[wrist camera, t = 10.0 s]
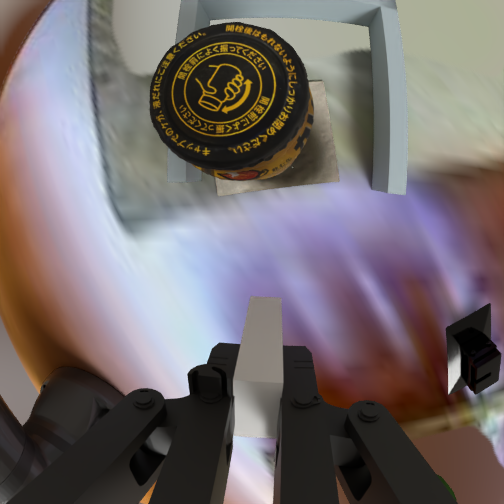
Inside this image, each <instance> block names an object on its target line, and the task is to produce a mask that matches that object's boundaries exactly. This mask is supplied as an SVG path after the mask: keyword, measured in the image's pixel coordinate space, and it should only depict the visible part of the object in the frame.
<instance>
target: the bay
mask: <svg viewBox="0 0 504 504" xmlns="http://www.w3.org/2000/svg"><path fill="white" fill-rule="evenodd" d="M263 17H268V18H269V17H271V18H301V19H314V20H325V21H334V22H342V23H349V24H355V25H361V26H367V27H369V36H370V47H371V59H372V75H373V102H374V147H373V174H372V190H376V191H381V192H385V193H392V194H400V195H406V180H407V158H408V109H407V88H406V74H405V63H404V53H403V46H402V37H401V30H400V24H399V19H398V12H397V7H396V2H395V0H181V5H180V12H179V19H178V27H177V34H176V42H175V45H176V44H177V43H179V42H180V41H181V40H183V39H184V38H185V37H187V36H188V35H189V34H190V33H192V32H194V31H197V30H199V29H201V28H205V27H209V25H210V20H219V19H232V18H263ZM193 181H202V171H201V170H199V169H197V168H195V167H194V166H193V165H192V164H190V163H188V162H186V161H184V160H183V159H181V158H179V157H178V156H177V155H176V154H174V153H173V152H172V151H171V150H170V149H169V147H168V168H167V182H193Z"/></svg>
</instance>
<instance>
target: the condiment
mask: <svg viewBox="0 0 504 504" xmlns="http://www.w3.org/2000/svg"><path fill="white" fill-rule="evenodd" d="M150 116H151V120H152V123H153V126H154V127H155V129H156V130H157V132H158V134H159V136H160V138H161V140H162V141H163V143H165V144H166V145H167V146H168V147H169V149H170V150H171V151H172V152H173V153H174V154H176V155H177V156H178V157H179V158H181V159H183V160H184V161H186V162H188V163H190V164H192V165H193V166H194V167H195V168H197V169H199V170H201V171H203V172H205V173H206V174H209V175H211V176H214V177H215V180H216V187H217V193H218V196H224V195H231V194H237V193H244V192H252V191H259V190H267V189H274V188H282V187H291V186H300V185H308V184H318V183H328V182H339V181H340V180H339V172H338V167H337V159H336V153H335V146H334V140H333V133H332V127H331V123H330V115H329V109H328V104H327V99H326V93H325V88H324V83H323V81H318V82H308V79H307V73H306V69H305V67H304V64H303V63H302V61H301V59H300V57H299V56H298V55H297V53H296V51H295V50H294V48H293V47H292V46H291V45H290V44H288V43H287V42H286V41H284V40H283V39H282V38H281V37H280V36H278V35H277V34H276V33H275V32H274V31H272V30H270V29H266V28H261V27H258V26H254V25H249V24H244V23H241V22H233V23H232V22H231V23H222V24H217V25H211V26H209V27H205V28H201V29H199V30H197V31H194V32H192V33H190V34H189V35H188V36H187V37H185V38H184V39H183V40H181V41H180V42H179V43H177V44H176V45H174V46H172V47H171V48H170V49H169V50H168V51H167V52H166V54H165V55H164V57H163V58H162V60H161V61H160V63H159V65H158V67H157V69H156V72H155V74H154V76H153V79H152V82H151V86H150ZM292 167H294V168H292Z"/></svg>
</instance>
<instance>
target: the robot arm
mask: <svg viewBox="0 0 504 504" xmlns="http://www.w3.org/2000/svg"><path fill="white" fill-rule="evenodd" d="M188 383H189V391H190V395H189V396H186V397H183V398H177V399H164V397H163V395H162V394H161V393H160V392H158V391H156V390H153V389H149V388H143V389H137V390H134V391H132V392H131V393H129V394H128V395H126V396H125V397H123V396H122V395H121V394H120V393H119V392H118V391H116V390H115V389H114V388H113V387H111V386H110V385H108V384H107V383H105V382H104V381H102V380H101V379H99V378H97V377H96V376H94V375H92V374H90V373H88V372H85V371H83V370H80V369H77V368H73V367H61V368H58V369H56V370H55V371H54V372H53V373H51V374H50V375H49V376H48V377H47V378H46V379H45V381H44V382H43V384H42V386H41V390H40V394H39V396H38V398H37V400H36V402H35V404H34V407H33V409H32V412H31V415H30V417H29V419H28V420H27V422H26V423H25V424H24V425H23V426H22V425H21V424H20V423H19V421H18V420H17V418H16V417H15V416H14V414H13V413H12V411H11V410H10V409H9V407H8V406H7V404H6V403H5V401H4V400H3V398H2V397H1V395H0V504H138V503H139V502H140V501H141V500H142V498H143V497H144V496H145V495H146V493H147V492H148V491H149V489H150V488H151V487H152V485H153V484H154V483H155V482H156V480H157V482H156V485H155V487H154V490H153V493H152V495H151V498H150V501H149V503H148V504H223V501H224V496H225V490H226V484H227V478H228V473H229V467H230V461H231V455H232V449H233V433H234V436H242V437H256V438H277V442H276V449H275V456H274V462H275V473H274V496H273V504H339V499H338V490H337V483H336V476H337V478H338V480H339V482H340V485H341V487H342V489H343V491H344V493H345V495H346V497H347V499H348V501H349V503H350V504H458V503H457V502H456V500H455V499H454V498H453V496H452V495H451V494H450V492H449V491H448V490H447V488H446V487H445V486H444V484H443V483H442V481H441V480H440V479H439V477H438V476H437V475H436V474H435V472H434V471H433V469H432V468H431V467H430V466H429V464H428V463H427V462H426V460H425V459H424V458H423V456H422V455H421V454H420V452H419V451H418V450H417V448H416V447H415V446H414V444H413V443H412V442H411V440H410V439H409V438H408V436H407V435H406V434H405V432H404V431H403V430H402V428H401V427H400V426H399V425H398V423H397V422H396V421H395V419H394V418H393V417H392V415H391V414H390V413H389V411H388V410H387V409H386V408H385V407H384V406H383V405H382V404H379V403H377V402H375V401H368V400H366V401H359V402H356V403H354V404H353V405H352V406H351V407H350V408H349V409H344V408H339V407H335V406H332V405H330V404H328V403H326V402H325V401H324V400H323V398H322V396H321V395H319V393H318V388H317V382H316V376H315V370H314V365H313V359H312V353H311V352H310V351H309V350H308V349H307V348H306V346H283V340H282V308H281V298H275V297H254V296H251V297H250V302H249V307H248V311H247V316H246V321H245V326H244V330H243V335H242V340H241V344H231V343H218V344H217V345H216V346H215V347H214V348H212V351H211V353H210V356H209V359H208V362H207V364H203V365H199V366H196V367H194V368H193V369H191V370H190V371H189V373H188ZM335 474H336V475H335Z"/></svg>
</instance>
